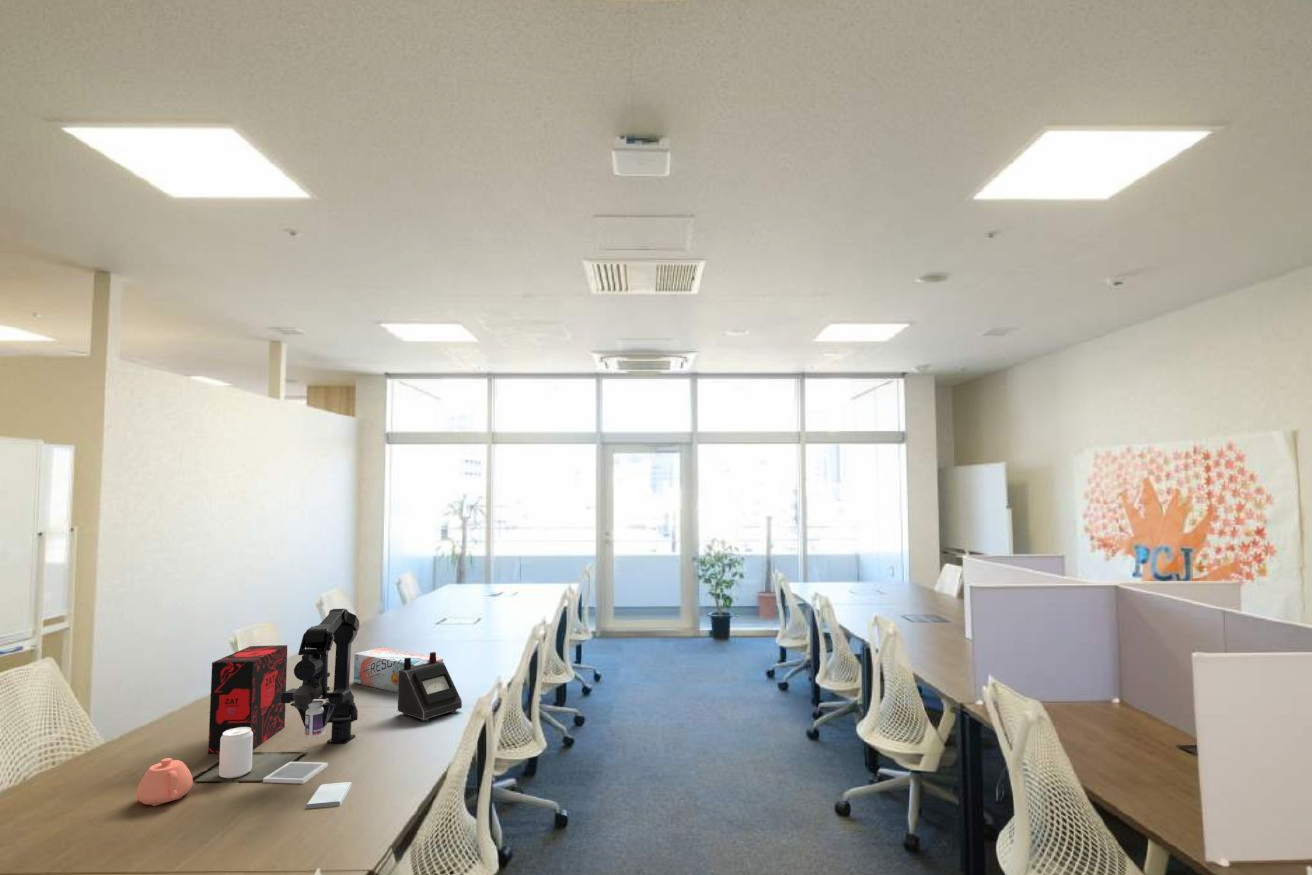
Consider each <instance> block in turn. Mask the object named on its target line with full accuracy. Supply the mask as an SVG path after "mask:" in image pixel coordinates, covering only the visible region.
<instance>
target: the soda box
mask: <svg viewBox="0 0 1312 875" xmlns="http://www.w3.org/2000/svg"><path fill="white" fill-rule="evenodd" d="M353 656H354V657H353V658H354V659H353V661H354V662H353V684H358V685H363V686H367V687H371V688H376V689H380V690H385V691H389V692H394V693H397V694H398V673H399V669H403V668H404V658H411V667H412V666H416V665H420V664H425V663H429V657H430V655H424V654H421V653H420V654H418V653H414V652H407V651H402V650H396V649H391V648H386V647H378V648H372V649H370V650H369V649H368V650H364V651H359V652H357V653H356V652H355V653H354V655H353ZM436 661H439V662H444V658H442V657H436Z"/></svg>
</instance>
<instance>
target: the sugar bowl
mask: <svg viewBox="0 0 1312 875" xmlns="http://www.w3.org/2000/svg"><path fill="white" fill-rule="evenodd" d="M193 784H194V780H193V776H192V772H191V771H190V769H189V768H188V766H187V765H186V764H185V763H184V762H183V761H181V760H178V759H173V758H172V757H166V758H163V759H160V762H158V763H155V764H153V765H151V766H150V767H149V768H148V769H147V771H146V772H145V773H144V775H143V776H142V778H141V779H140V780H139V783H138V786H137V788H136V792H135V797H136V799H137V800H138V801H139V802H140V803H142V804H144V805H147V806H148V805H151V806H152V807H156V806H160V805H162V804H165V803H168V802H169V803H170V802H173V801H175V800H181V799H182V798H183V796H185V795H187V793H188V792H189V791H190V790H191V788H192V787H193Z"/></svg>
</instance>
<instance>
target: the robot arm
mask: <svg viewBox="0 0 1312 875" xmlns="http://www.w3.org/2000/svg"><path fill="white" fill-rule="evenodd" d="M359 628H360V620H359V618H358V616H357V615H356V614H354V613H351V612H349V610H348V609H347V608H332V609H329V611H328V614H327V615H326V616H325V618H324V619H323V620H322V621H321V622H320V623H319V624H318V625H314V626H310V627H309V628H308V629H306V631H305V632H304V633H303V635H302V637H301V638H302V639H301V643H300V646H299V650H298V656H301V660H299V661H298V662H297V663H296V664H295V666H294V668H293V674H294V676H295V678H296V679H297V680H299V681H302V684H301V685H300V686H299V687H298V688H290V689H288V690H286V692H284V693H283V694H282V695H281V701H280V703H285V704H290V707H293V708H295V709H297V711H298V713H299V716H300V718H301V722H302V724H303V726H304V727H305V714H306V710H307V709H309V707H308V705H309V704H310V703H312V701H313V700H315V699H323V700H325V703H324V704H323V705H322V707H323V709H324V712H323V726H324V727H325V728H326V726H327V724H330V723H331V738H329V739H327V741H326V743H327V744H330V743H331V744H332V743H333V744H346V743H348V742H349V741H351V740H352V739H353V738H356V734H352V723H353V722H354V721H358V716H359V711H358V707H357V705H356V702H355V698H354V697H355V696H354V694H353V693H352V691H351V689H350V679H351V678H350V675H351V656H352V643H353V642H354V640H355V638H356V637H357V635H358V631H359ZM333 643H334V644H335V657H334V658H335V660H334V661H335V662H334V677H333V678H334V680H333V691H332V692H329V691H330V687H331V686H328V678H329V677H331V672H328V671H329V670H328V669H329V653H330V652H329V651H331V649H332V647H333Z"/></svg>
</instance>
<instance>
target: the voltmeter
mask: <svg viewBox="0 0 1312 875" xmlns="http://www.w3.org/2000/svg"><path fill="white" fill-rule="evenodd" d="M429 656H430V657H429V663H425V664H420V665H416V666H412V667H411V658H404V668H403V669H399V673H398V693H397V712H399V713H402V716H411V717H414V718H416V719H421V720H422V723H426V722H427V723H428V722H429V719H430V718H434V717H436V716H441V715H445V714H446V713H451V714H455V713H457V710H460V709H462V707H463V706H462V705H463V703H462V702H463V701H462V698H461V696H460V694H459V692H458V690H457V688H456V686H455V684H454V681H453V679H452V677H451V675H450V672H449V671H448V668H447V666H446V664H445V662H444V661H443V662H439V661H436V658H437V652H436V651H432V652H429Z"/></svg>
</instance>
